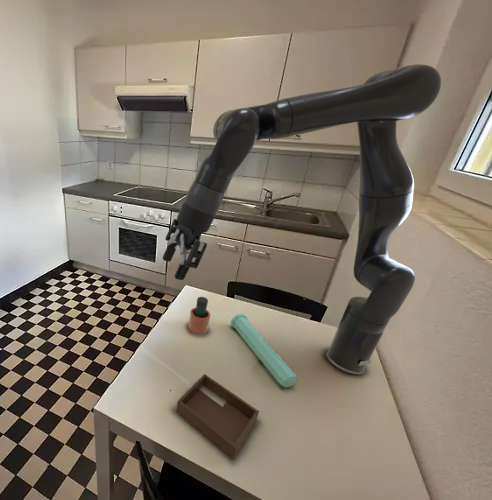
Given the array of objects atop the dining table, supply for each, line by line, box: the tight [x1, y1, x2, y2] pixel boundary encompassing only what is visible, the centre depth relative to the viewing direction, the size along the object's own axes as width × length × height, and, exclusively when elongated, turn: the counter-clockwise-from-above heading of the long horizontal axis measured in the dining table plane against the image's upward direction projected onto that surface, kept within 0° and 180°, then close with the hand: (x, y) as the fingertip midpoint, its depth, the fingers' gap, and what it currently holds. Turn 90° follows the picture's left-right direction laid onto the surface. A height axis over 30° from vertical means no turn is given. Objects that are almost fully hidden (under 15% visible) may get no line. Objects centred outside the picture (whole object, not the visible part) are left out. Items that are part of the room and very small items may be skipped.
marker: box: [195, 296, 209, 318], centre depth 89 cm, size 3×3×11 cm
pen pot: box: [187, 307, 211, 335], centre depth 90 cm, size 6×6×6 cm
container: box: [230, 313, 298, 388], centre depth 82 cm, size 6×6×25 cm
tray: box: [175, 373, 260, 460], centre depth 63 cm, size 11×14×4 cm
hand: (171, 269), depth 66 cm, fingers open, 8 cm apart
